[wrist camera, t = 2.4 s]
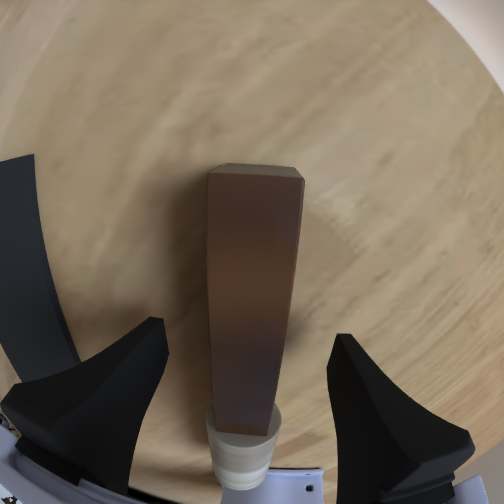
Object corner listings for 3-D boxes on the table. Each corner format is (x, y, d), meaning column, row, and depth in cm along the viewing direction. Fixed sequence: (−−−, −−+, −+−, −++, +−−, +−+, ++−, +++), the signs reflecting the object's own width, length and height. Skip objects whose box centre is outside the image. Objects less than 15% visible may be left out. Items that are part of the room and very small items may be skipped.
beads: (13, 433, 33) (11, 437, 32) (8, 429, 32) (6, 432, 31) (18, 432, 30) (16, 436, 29) (13, 428, 30) (11, 431, 29)
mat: (34, 153, 10) (26, 155, 10) (113, 425, 19) (111, 430, 18) (-41, 174, 11) (-46, 176, 10) (31, 389, 19) (28, 393, 19)
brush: (207, 162, 10) (170, 176, 6) (314, 169, 10) (338, 186, 6) (217, 445, 18) (209, 486, 14) (268, 449, 18) (266, 492, 14)
